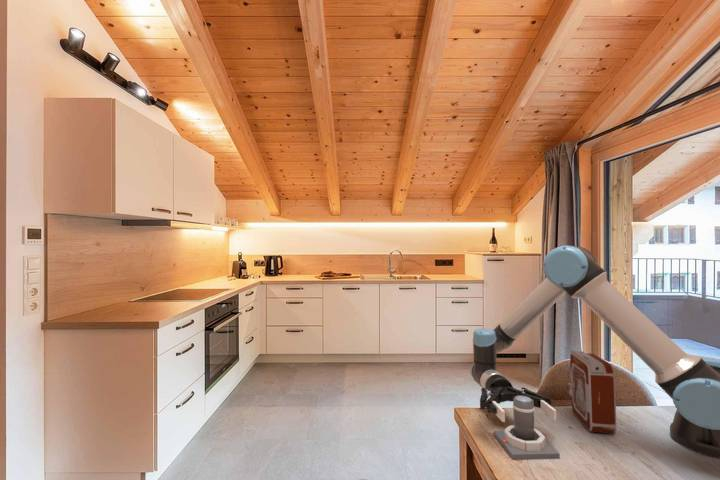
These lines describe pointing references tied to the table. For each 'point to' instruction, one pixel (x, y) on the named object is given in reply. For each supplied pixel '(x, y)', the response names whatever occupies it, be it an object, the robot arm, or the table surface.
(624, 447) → the table surface
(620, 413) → the table surface
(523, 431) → the lens
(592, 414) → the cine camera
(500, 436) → the mount plate
